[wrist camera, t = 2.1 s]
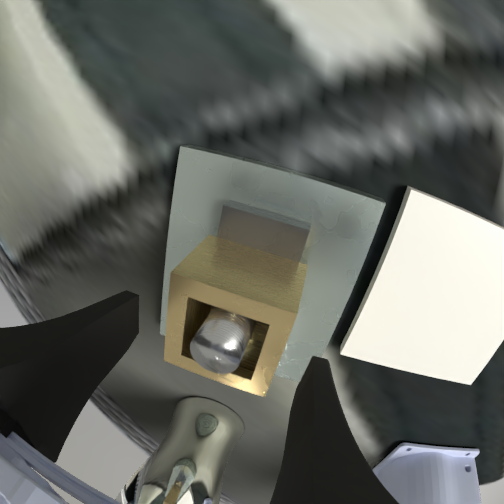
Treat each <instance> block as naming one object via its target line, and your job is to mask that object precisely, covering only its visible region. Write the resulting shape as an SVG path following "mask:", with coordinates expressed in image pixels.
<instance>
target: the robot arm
mask: <svg viewBox="0 0 504 504" xmlns="http://www.w3.org/2000/svg"><path fill="white" fill-rule="evenodd" d="M138 333H139V295H137V294H134V293H132V292H129V291H127V290H126V291H124V292H121V293H119V294H116V295H114V296H111V297H109V298H107V299H105V300H102V301H100V302H98V303H95V304H93V305H90V306H88V307H86V308H83V309H80V310H78V311H75V312H72V313H70V314H67V315H64V316H61V317H58V318H55V319H51V320H47V321H43V322H39V323H34V324H28V325H24V326H16V327H7V328H0V504H69V503H67V502H66V501H65V500H64V499H63V498H62V497H61V496H60V495H59V494H57V493H56V492H55V491H54V490H53V489H52V487H51V486H50V485H49V483H48V482H47V481H46V480H45V479H43V478H42V477H41V476H40V475H39V474H41V475H42V476H44V477H45V478H46V479H48V480H49V481H50V482H52V483H53V484H55V485H56V486H58V487H59V488H61V489H62V490H64V491H65V492H67V493H68V494H70V495H71V496H73V497H74V498H76V499H78V500H79V501H81V502H82V503H84V504H122V503H120V502H118V501H116V500H114V499H112V498H110V497H108V496H107V495H105V494H103V493H101V492H100V491H98V490H96V489H94V488H93V487H91V486H89V485H87V484H86V483H84V482H83V481H81V480H79V479H78V478H76V477H75V476H73V475H71V474H70V473H68V472H67V471H65V470H64V469H62V468H61V467H59V466H58V465H56V464H55V462H56V461H57V459H58V456H59V453H60V452H61V449H62V447H63V445H64V442H65V440H66V438H67V436H68V435H69V432H70V431H71V429H72V427H73V425H74V423H75V421H76V419H77V418H78V416H79V414H80V412H81V411H82V409H83V407H84V406H85V404H86V402H87V401H88V399H89V398H90V396H91V395H92V393H93V392H94V390H95V389H96V388H97V386H98V385H99V384H100V383H101V381H102V380H103V379H104V378H105V377H106V375H107V374H108V373H109V372H110V371H111V370H112V368H113V367H114V366H115V365H116V364H117V362H118V361H119V360H120V359H121V358H122V356H123V355H124V354H125V353H126V352H127V350H128V349H129V347H130V346H131V344H132V342H133V341H134V339H135V338H136V336H137V334H138ZM478 454H479V449H470V448H453V447H441V446H430V445H421V444H413V443H401V444H399V445H398V446H397V447H396V448H395V449H394V450H393V451H392V452H391V453H390V454H389V455H388V456H387V457H386V458H385V459H384V460H382V461H381V462H380V463H379V464H378V465H377V466H376V467H375V468H374V469H371V467H370V466H369V464H368V463H367V461H366V459H365V458H364V456H363V454H362V453H361V451H360V449H359V447H358V445H357V443H356V441H355V439H354V437H353V435H352V433H351V430H350V428H349V426H348V423H347V421H346V418H345V415H344V413H343V410H342V407H341V404H340V401H339V398H338V395H337V391H336V388H335V384H334V381H333V377H332V373H331V368H330V364H329V361H328V360H327V359H324V358H320V357H317V356H312V358H311V360H310V362H309V364H308V366H307V368H306V370H305V372H304V374H303V376H302V378H301V380H300V382H299V384H298V386H297V388H296V392H295V396H294V399H293V403H292V407H291V411H290V417H289V424H288V431H287V437H286V444H285V450H284V456H283V461H282V466H281V470H280V473H279V477H278V480H277V483H276V487H275V490H274V493H273V496H272V499H271V502H270V504H481V497H480V489H479V483H478V476H477V470H476V465H475V459H474V458H475V457H476V456H477V455H478ZM31 467H32V468H33V469H34V470H35V471H37V472H38V473H39V474H37V473H36V472H35V471H34V470H33V469H32V468H31Z"/></svg>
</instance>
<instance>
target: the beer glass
mask: <svg viewBox="0 0 504 504" xmlns="http://www.w3.org/2000/svg"><path fill="white" fill-rule="evenodd" d="M243 433H244V424H243V422H242V420H241V419H240V417H239V416H238V415H237V414H236V413H235V412H234V411H232V410H231V409H229V408H228V407H226V406H225V405H223V404H221V403H218V402H216V401H213V400H210V399H206V398H201V397H189V398H185V399H183V400H181V401H180V402H179V403H178V404H177V406H176V408H175V411H174V414H173V418H172V421H171V424H170V427H169V430H168V432H167V434H166V436H165V437H164V439H163V440H162V442H161V444H160V445H159V446H158V447H157V449H156V450H155V451H154V452H153V453H152V454H151V456H150V457H149V458H148V459H147V460H146V461H145V462H144V463H143V465H142V466H141V467H140V468H139V469H138V470H137V471H136V473H135V474H134V475H133V476H132V477H131V478H130V480H129V481H128V482H127V484H126V485H125V486H124V487H123V488H122V490H121V491H120V493H119V494H118V496H117V498H116V499H115V500H116V501H118V502H120V503H122V504H219V501H220V495H221V489H222V482H223V477H224V471H225V468H226V465H227V461H228V459H229V457H230V454H231V452H232V451H233V449H234V447H235V446H236V444H237V443H238V441H239V440H240V438H241V437H242V435H243Z"/></svg>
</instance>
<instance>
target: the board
mask: <svg viewBox="0 0 504 504" xmlns="http://www.w3.org/2000/svg"><path fill="white" fill-rule="evenodd" d="M503 340H504V227H502V226H500V225H498V224H495V223H493V222H491V221H489V220H487V219H485V218H483V217H481V216H478V215H476V214H474V213H472V212H470V211H467V210H465V209H463V208H461V207H458V206H456V205H454V204H451V203H449V202H447V201H444V200H442V199H440V198H437V197H435V196H432V195H430V194H427V193H425V192H422V191H420V190H417V189H414V188H412V187H409V186H407V189H406V192H405V195H404V198H403V201H402V204H401V207H400V209H399V212H398V215H397V218H396V220H395V223H394V226H393V228H392V231H391V234H390V236H389V239H388V241H387V244H386V246H385V249H384V251H383V254H382V256H381V259H380V261H379V263H378V266H377V268H376V271H375V273H374V275H373V278H372V280H371V282H370V284H369V287H368V289H367V291H366V293H365V296H364V298H363V300H362V302H361V304H360V307H359V309H358V311H357V313H356V315H355V317H354V319H353V321H352V323H351V326H350V328H349V330H348V332H347V334H346V336H345V338H344V340H343V342H342V344H341V346H340V354H341V355H345V356H349V357H352V358H356V359H360V360H364V361H368V362H371V363H375V364H379V365H383V366H387V367H391V368H395V369H400V370H404V371H408V372H412V373H417V374H421V375H426V376H430V377H435V378H439V379H444V380H449V381H454V382H459V383H464V384H469V385H471V384H472V382H473V381H474V380H475V379H476V377H477V376H478V375H479V373H480V372H481V371H482V369H483V368H484V367H485V365H486V364H487V363H488V361H489V360H490V359H491V357H492V356H493V354H494V353H495V351H496V350H497V349H498V347H499V346H500V344H501V343H502V341H503Z"/></svg>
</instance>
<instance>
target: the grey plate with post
mask: <svg viewBox="0 0 504 504" xmlns="http://www.w3.org/2000/svg"><path fill="white" fill-rule="evenodd" d="M385 204H386V203H385V201H384V200H383V198H380V197H377V196H375V195H372V194H369V193H366V192H363V191H360V190H357V189H354V188H351V187H348V186H344V185H341V184H338V183H335V182H332V181H329V180H325V179H322V178H319V177H315V176H312V175H309V174H305V173H302V172H298V171H295V170H291V169H288V168H284V167H281V166H277V165H273V164H269V163H266V162H262V161H258V160H254V159H250V158H246V157H242V156H238V155H234V154H230V153H226V152H221V151H217V150H213V149H208V148H204V147H199V146H195V145H190V144H188V145H183V146H180V151H179V157H178V164H177V170H176V177H175V184H174V191H173V198H172V206H171V214H170V222H169V230H168V239H167V249H166V259H165V270H164V281H163V294H162V308H161V325H160V334H161V335H164V336H165V335H166V320H167V307H168V295H169V284H170V274H171V271H172V270H173V269H174V268H175V267H176V266H177V265H178V264H179V263H180V262H181V261H182V260H183V259H184V258H185V257H186V256H187V255H189V254H190V253H191V252H192V251H193V250H194V249H195V248H196V247H197V246H198V245H199V244H200V243H201V242H202V241H203V240H204V239H205V238H206V237H207V236H208V235H213V236H216V237H219V238H222V239H225V240H229V241H232V242H235V243H238V244H242V245H245V246H248V247H251V248H255V249H258V250H261V251H264V252H268V253H271V254H274V255H277V256H280V257H284V258H287V259H290V260H293V261H297V262H300V263H303V264H306V265H308V267H307V272H306V277H305V282H304V287H303V291H302V296H301V300H300V305H299V310H298V314H297V317H296V319H295V322H294V325H293V327H292V330H291V333H290V335H289V338H288V340H287V343H286V346H285V348H284V351H283V353H282V356H281V358H280V361H279V363H278V366H277V368H276V371H275V373H274V375H276V376H279V377H282V378H286V379H289V380H292V381H296V382H300V380H301V378H302V376H303V374H304V372H305V370H306V368H307V366H308V364H309V362H310V360H311V358H312V356H317V357H320V358H321V357H322V355H323V353H324V351H325V349H326V347H327V345H328V343H329V340H330V338H331V336H332V334H333V332H334V330H335V328H336V326H337V323H338V321H339V319H340V317H341V315H342V312H343V310H344V308H345V306H346V303H347V301H348V299H349V297H350V294H351V292H352V290H353V287H354V285H355V282H356V280H357V278H358V275H359V273H360V270H361V268H362V265H363V263H364V261H365V258H366V255H367V253H368V250H369V248H370V245H371V243H372V240H373V237H374V235H375V232H376V229H377V227H378V224H379V221H380V218H381V216H382V213H383V210H384V207H385ZM212 307H213V308H212V310H211V311H210V313H209V315H208V316H207V318H206V319H205V321H204V322H203V324H202V325H201V327H200V329H199V330H198V332H197V333H196V335H195V336H194V338H193V340H192V341H191V343H190V352H191V355H192V357H193V358H194V360H195V361H196V362H197V363H198V364H199V365H200V366H201V367H203V368H204V369H206V370H208V371H211V372H214V373H218V374H227V373H231V372H233V371H235V370H236V369H237V368H238V366H239V364H240V362H241V359H242V357H243V355H244V352H245V350H246V347H247V345H248V342H249V340H250V338H251V335H252V333H253V330H254V328H255V325H256V323H260V324H263V325H267V326H270V325H269V324H266V323H263V322H260V321H257V320H254V319H251V318H248V317H245V316H242V315H239V314H236V313H233V312H230V311H227V310H224V309H221V308H218V307H215V306H213V305H212Z"/></svg>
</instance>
